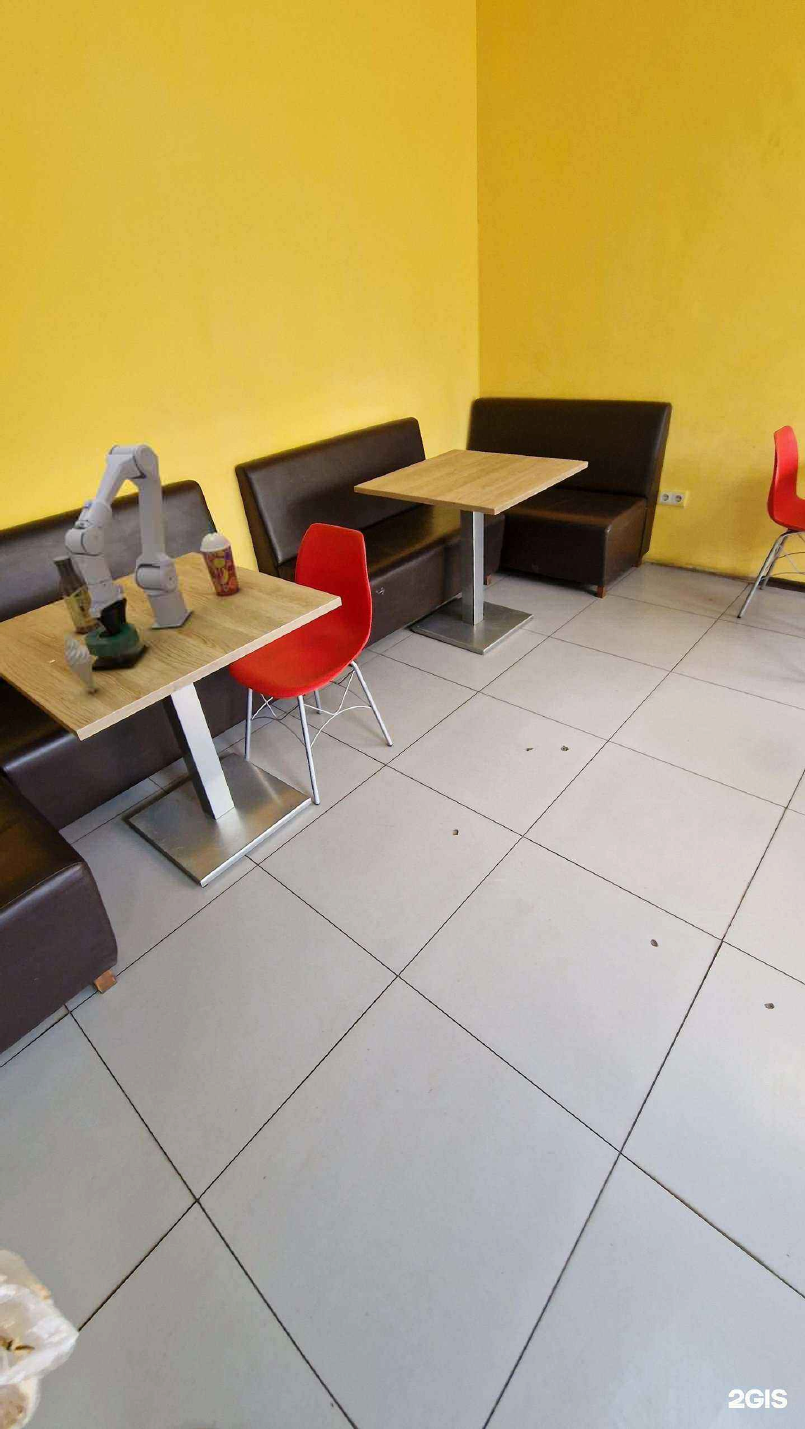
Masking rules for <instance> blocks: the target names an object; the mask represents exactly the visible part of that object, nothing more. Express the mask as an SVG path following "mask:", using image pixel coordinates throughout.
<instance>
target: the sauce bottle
mask: <svg viewBox="0 0 805 1429" xmlns="http://www.w3.org/2000/svg"><path fill="white" fill-rule="evenodd" d="M52 561H53V563H54V565H55V566H56V569H57V571H58V574H59V576H60V578H59V583H58V584H59V586H58V587H59V589H60V591H61V594H62V597H63V600H64V603H65V605H66V607H67V610H68V612H69V615H70V618H71V621H72V622H73V625H74V627H75V628H76V631H77V632H79V633H89V632H91V631H93V630H95V629H97V628H99V627H101V626H100V625H101V623H100V622H99V621H98V620H97V619H95V618H91V616H90V613H89V611H88V610H89V609H90V608H91V604H92V600H93V599H92V597H91V594H90V592H89V589H88V587H87V584H86V583H85V581H83V580H82V579H81V577H80V576H79V574H78V573H77V572H76V570H75V567H74V564H73V561H72V558H71V556H70V555H68V554H67V555H60V556H57V557H55V558H53V560H52Z"/></svg>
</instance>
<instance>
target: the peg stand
mask: <svg viewBox="0 0 805 1429" xmlns="http://www.w3.org/2000/svg"><path fill="white" fill-rule="evenodd" d="M147 649H148V646H147V644H146V643H139V644H136V646H134V647H132V648H131V649H129V650H127V651H125V652H122V653H119V654H115V655H112V656H102V657H97V658H96V659H95V660H94V661H93V662H92V663H91V664H92V672H95V671H111V670H121V669H132V668H133V667H134V665H135V664H136V663H137V662H138V661H139V659H140V658H141V657H142V656H143V654H144V653H145V652H146V650H147Z"/></svg>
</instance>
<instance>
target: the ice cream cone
mask: <svg viewBox="0 0 805 1429" xmlns="http://www.w3.org/2000/svg"><path fill="white" fill-rule="evenodd" d="M64 647H65V648H66V649H65V650H64V652H63V653H64V654H65V655H64V656H63V657H64V659H67V660H66V661H65V662H66V665H67V666H68V667H69V668H70V669H71V670H72V672H73V673H74V674H75V675H77V677H78V678H79V680H80V681H81V682H82V683H83V684H84V685H85V686H86V688H88V690H89V691H90V692H91V693H94V692H95V685H94V684H95V683H94V674H93V673H94V672H93V671H92V664H93V663H92V655H90V653H89V650H88V648H87V647H86V646H84V645H82V644H80V643H79V641H78V640H77V639H75V638H74V637H73V636H71V635H70V633H69V632H68V631H65V644H64Z"/></svg>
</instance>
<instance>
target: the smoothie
mask: <svg viewBox="0 0 805 1429" xmlns="http://www.w3.org/2000/svg"><path fill="white" fill-rule="evenodd" d="M207 525H208V530H209V533H207V534H206V535H205V536H204V537H203V539H202V540H201V544H200V545H201V546H200V551H201V554H202V557H203V561H204V563H205V566H206V568H207V571H208V575H209V578H210V579H211V583H212V585H213V588H214V591H216V592H217V594H218V595H220V596H229V595H233V594H235V593H236V592H237V591H238V588H239V580H238V576H237V572H236V566H235V561H234V557H233V556H234V555H233V551H232V545H231V544H232V543H231V542H230V541H229V540H228V538H226V536H225V535H223V534H221V533H219V532H214V531H213V527H212V524H211V522H208V523H207Z"/></svg>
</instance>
